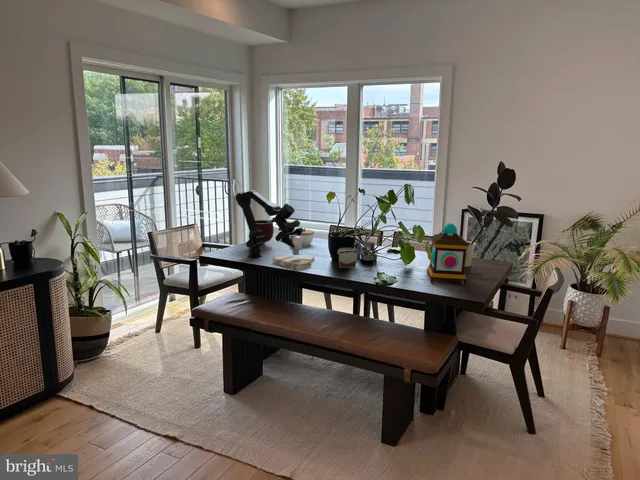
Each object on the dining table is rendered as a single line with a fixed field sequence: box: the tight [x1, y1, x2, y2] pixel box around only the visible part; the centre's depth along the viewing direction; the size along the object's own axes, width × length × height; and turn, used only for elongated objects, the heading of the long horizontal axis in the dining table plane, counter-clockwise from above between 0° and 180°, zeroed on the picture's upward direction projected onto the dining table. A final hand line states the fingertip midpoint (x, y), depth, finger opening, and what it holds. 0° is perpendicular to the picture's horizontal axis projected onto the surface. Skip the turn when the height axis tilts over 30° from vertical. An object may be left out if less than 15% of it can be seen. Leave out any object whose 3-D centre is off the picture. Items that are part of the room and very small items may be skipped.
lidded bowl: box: [300, 228, 315, 247], centre depth 317 cm, size 13×13×11 cm
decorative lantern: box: [426, 222, 469, 286], centre depth 246 cm, size 20×20×30 cm
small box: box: [354, 240, 376, 261], centre depth 284 cm, size 11×6×10 cm, turn 62°
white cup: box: [289, 235, 303, 256], centre depth 263 cm, size 7×7×10 cm
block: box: [298, 254, 315, 264], centre depth 278 cm, size 8×8×2 cm
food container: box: [336, 247, 359, 269], centre depth 268 cm, size 12×6×10 cm, turn 108°
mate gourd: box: [255, 218, 274, 251], centre depth 303 cm, size 16×14×20 cm
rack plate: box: [272, 254, 312, 271], centre depth 268 cm, size 20×10×3 cm, turn 49°
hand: (297, 246), depth 262 cm, fingers closed on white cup, 7 cm apart
